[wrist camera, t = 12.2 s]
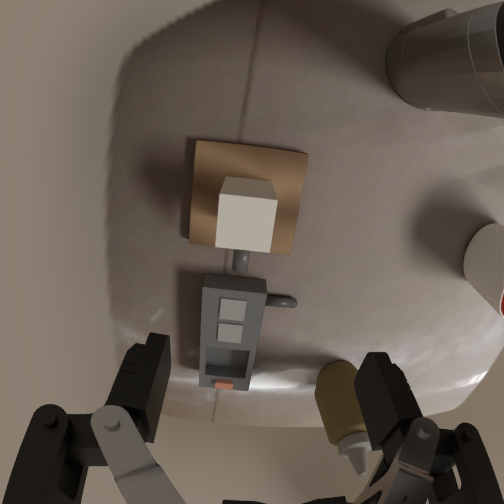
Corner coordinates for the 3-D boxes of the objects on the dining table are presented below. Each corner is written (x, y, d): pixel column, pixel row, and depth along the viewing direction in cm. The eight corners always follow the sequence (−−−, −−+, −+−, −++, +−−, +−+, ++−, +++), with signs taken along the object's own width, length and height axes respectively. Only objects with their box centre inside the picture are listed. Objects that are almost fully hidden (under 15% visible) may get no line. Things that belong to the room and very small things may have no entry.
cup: (459, 231, 33) (505, 266, 24) (505, 212, 32) (550, 240, 23) (458, 290, 37) (493, 331, 28) (502, 269, 36) (538, 302, 27)
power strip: (206, 273, 35) (201, 289, 32) (300, 283, 36) (305, 300, 33) (201, 371, 42) (198, 389, 39) (275, 377, 43) (277, 395, 40)
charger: (226, 176, 29) (219, 193, 23) (271, 181, 30) (277, 200, 23) (220, 239, 32) (213, 271, 26) (262, 244, 32) (265, 277, 26)
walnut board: (198, 139, 29) (196, 140, 28) (306, 153, 29) (308, 154, 28) (190, 239, 33) (188, 243, 32) (288, 251, 34) (289, 254, 33)
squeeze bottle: (301, 385, 44) (317, 486, 28) (326, 350, 41) (355, 460, 24) (344, 391, 45) (368, 483, 29) (370, 359, 42) (407, 456, 26)
